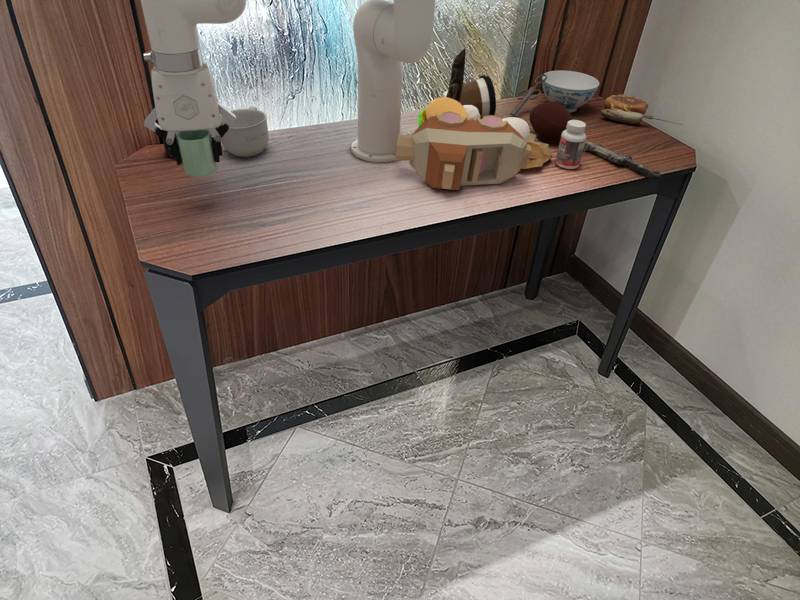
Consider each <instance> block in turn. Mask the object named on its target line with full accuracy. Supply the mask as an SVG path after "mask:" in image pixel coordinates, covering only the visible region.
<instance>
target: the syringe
mask: <svg viewBox="0 0 800 600" xmlns="http://www.w3.org/2000/svg"><path fill="white" fill-rule="evenodd" d="M543 76H546V78H545V79H544V80H543V81H542V80H541V81H539V82H537V81H538V80H539V79H542V77H543ZM546 79H547V75H546V74H545V73H544V74H541V75H539V76H537V77H536V78H535V80H534V83H535V85H534V86H530V87H529V88H528V89H522V90H521V91H519V92H518V93H517V95H516V99H517V100H519V102H518V103H517V104H516V105H515V107H514V108H513V109H512V110H511V112H510V113H509V115H510V116H509V117H515V116H516V115H517V114H519V113H518V112H520V110H521V109H522V108H523V107H524V105H525V104H526V103H527V102H528V101H529V100H535V99H538V98H539V97H540V96H541V95H542V91H541V90H540V89H536V87H537V86H538V85H541V84H542V83H543V82H544V81H545V80H546ZM525 92H526V93H525ZM537 92H539V93H538V94H537V95H536V96H534V97H532V96H533V95H534V94H535V93H537ZM523 93H525V94H524V95H523V96H522V97H519V96H520V95H521V94H523Z"/></svg>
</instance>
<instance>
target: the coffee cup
mask: <svg viewBox="0 0 800 600" xmlns="http://www.w3.org/2000/svg"><path fill="white" fill-rule="evenodd" d="M447 92H448V90H445V91H444V92H443V93H442V96H441V97H446V96H447ZM460 104H461V105H462V106H464V105H473V106H475V107H476V108H477V109H478V111H479V114H480V119H482V118H483V117H484V116H489V115H493V116H495V115H496V110H497V98H496V90H495V87H494V84H493V81H492V78H491V77H490V76H489V75H485V74H482V75H480V77H479V78H478V79H473V80H471V81H468V82H465V83H463V88H462V94H461V100H460Z"/></svg>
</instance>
